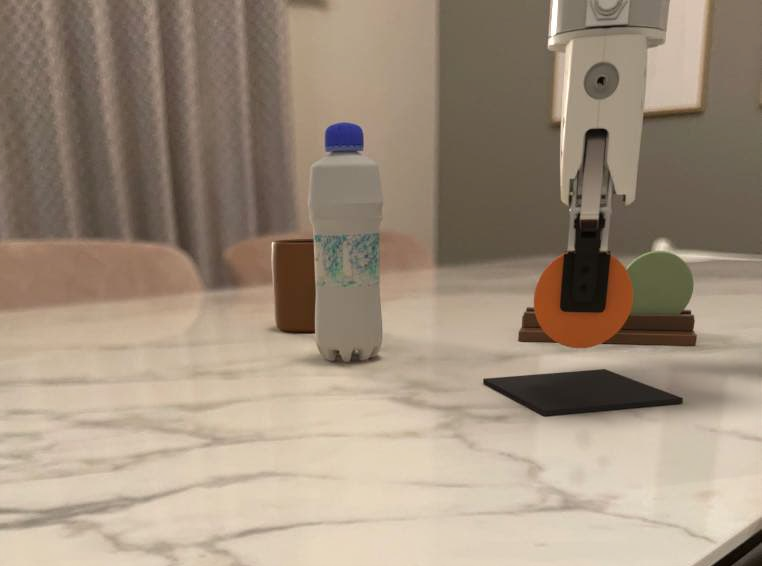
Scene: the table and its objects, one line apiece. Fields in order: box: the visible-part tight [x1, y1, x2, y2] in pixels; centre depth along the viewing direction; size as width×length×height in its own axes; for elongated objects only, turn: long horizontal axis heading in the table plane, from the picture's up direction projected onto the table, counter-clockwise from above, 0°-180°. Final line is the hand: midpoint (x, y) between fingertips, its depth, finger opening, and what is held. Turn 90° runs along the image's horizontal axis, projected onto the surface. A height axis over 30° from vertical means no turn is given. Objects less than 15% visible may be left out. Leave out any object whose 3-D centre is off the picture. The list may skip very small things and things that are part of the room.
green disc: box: [625, 250, 695, 314], centre depth 85 cm, size 2×7×7 cm, turn 75°
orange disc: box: [533, 248, 633, 349], centre depth 62 cm, size 2×7×7 cm, turn 75°
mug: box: [271, 238, 316, 333], centre depth 95 cm, size 12×8×9 cm, turn 81°
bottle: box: [307, 121, 384, 363], centre depth 76 cm, size 7×7×20 cm
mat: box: [482, 368, 684, 417], centre depth 65 cm, size 11×11×1 cm
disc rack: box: [517, 306, 697, 347], centre depth 88 cm, size 9×17×2 cm, turn 75°
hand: (582, 307), depth 62 cm, fingers closed on orange disc, 1 cm apart
